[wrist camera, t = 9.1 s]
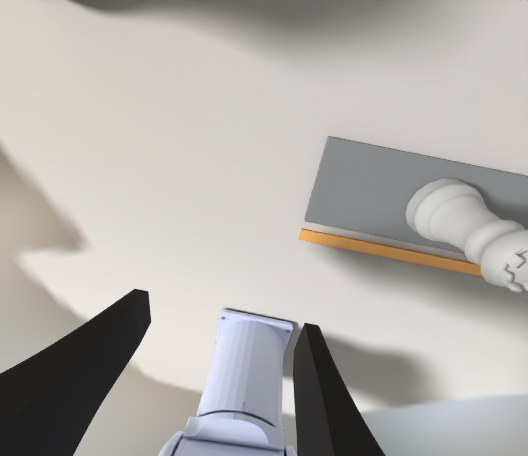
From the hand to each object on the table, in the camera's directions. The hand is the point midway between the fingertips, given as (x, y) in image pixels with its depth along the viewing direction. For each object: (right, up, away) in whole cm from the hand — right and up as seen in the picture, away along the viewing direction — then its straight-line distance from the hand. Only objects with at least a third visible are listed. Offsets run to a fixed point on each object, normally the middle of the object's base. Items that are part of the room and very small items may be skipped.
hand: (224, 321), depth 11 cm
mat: (+16, +6, +7) cm, 18 cm away
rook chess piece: (+15, +6, +7) cm, 17 cm away
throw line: (+15, +2, +9) cm, 17 cm away
